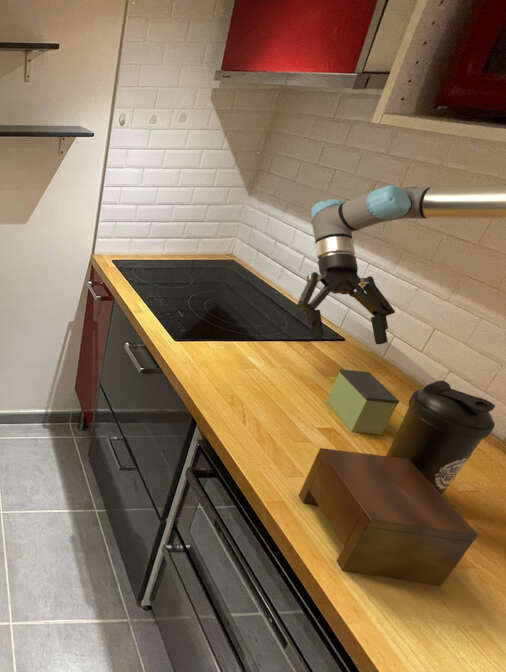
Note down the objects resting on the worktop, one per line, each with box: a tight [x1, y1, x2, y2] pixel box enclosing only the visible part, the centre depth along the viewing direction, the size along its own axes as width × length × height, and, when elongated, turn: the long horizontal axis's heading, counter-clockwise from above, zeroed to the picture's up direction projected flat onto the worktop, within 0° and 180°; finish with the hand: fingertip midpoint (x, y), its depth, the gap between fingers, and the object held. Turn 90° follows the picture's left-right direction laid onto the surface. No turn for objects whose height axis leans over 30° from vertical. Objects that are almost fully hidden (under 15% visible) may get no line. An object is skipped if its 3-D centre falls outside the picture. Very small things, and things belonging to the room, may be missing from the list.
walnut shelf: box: [298, 447, 479, 587], centre depth 74 cm, size 14×14×12 cm
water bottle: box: [385, 380, 496, 496], centre depth 80 cm, size 10×10×23 cm
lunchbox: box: [326, 369, 400, 436], centre depth 101 cm, size 6×10×10 cm, turn 171°
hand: (349, 340), depth 106 cm, fingers open, 13 cm apart
